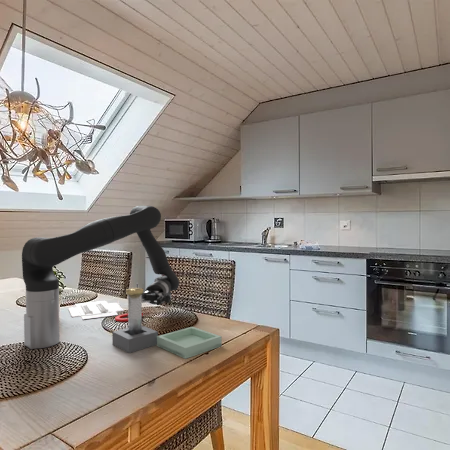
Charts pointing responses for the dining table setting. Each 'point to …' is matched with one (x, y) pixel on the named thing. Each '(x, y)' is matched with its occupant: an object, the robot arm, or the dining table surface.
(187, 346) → the tray
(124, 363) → the dining table surface
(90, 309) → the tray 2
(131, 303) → the steel pin
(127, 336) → the socket block
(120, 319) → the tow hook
